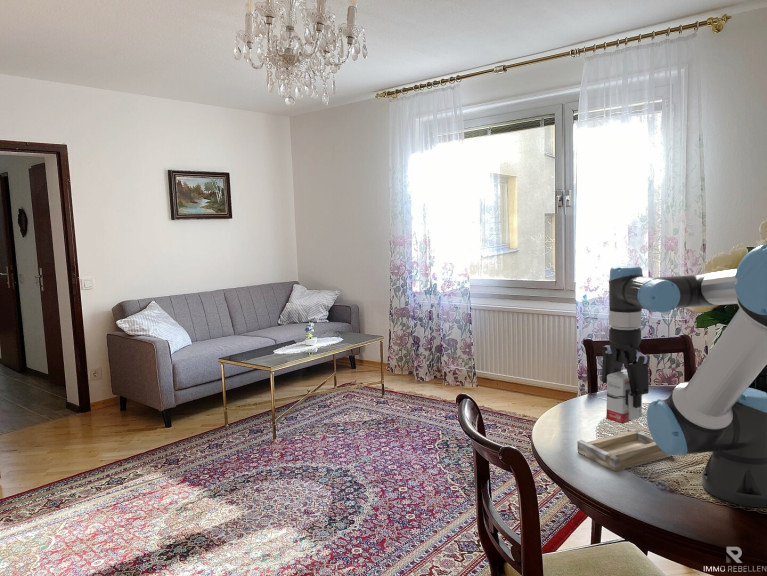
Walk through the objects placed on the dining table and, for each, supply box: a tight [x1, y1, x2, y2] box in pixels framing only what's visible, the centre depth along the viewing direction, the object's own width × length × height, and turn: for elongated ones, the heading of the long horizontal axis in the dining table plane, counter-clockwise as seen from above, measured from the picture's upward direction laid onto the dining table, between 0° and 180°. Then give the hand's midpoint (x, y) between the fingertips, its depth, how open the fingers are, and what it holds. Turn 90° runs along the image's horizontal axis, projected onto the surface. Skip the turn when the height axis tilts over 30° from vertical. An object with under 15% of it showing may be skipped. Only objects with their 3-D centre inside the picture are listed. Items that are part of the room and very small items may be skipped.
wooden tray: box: [576, 427, 673, 472], centre depth 143 cm, size 13×19×3 cm
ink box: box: [605, 368, 643, 425], centre depth 142 cm, size 8×5×12 cm, turn 123°
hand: (624, 414), depth 142 cm, fingers closed on ink box, 6 cm apart
